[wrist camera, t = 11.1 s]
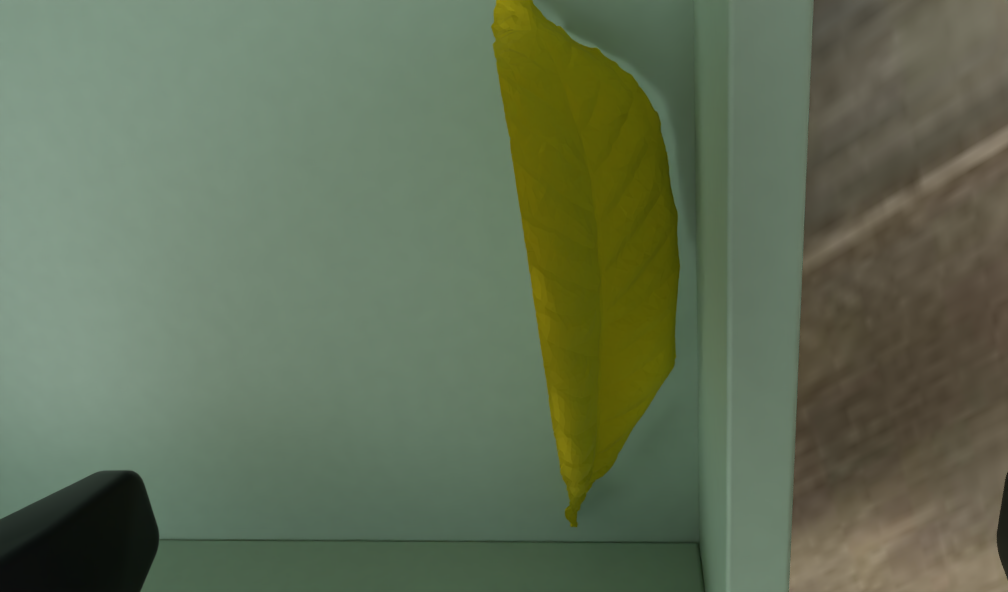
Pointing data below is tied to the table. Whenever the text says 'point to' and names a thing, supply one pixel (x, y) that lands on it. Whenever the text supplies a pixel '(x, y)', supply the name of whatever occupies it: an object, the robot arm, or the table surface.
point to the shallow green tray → (384, 293)
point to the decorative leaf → (590, 235)
